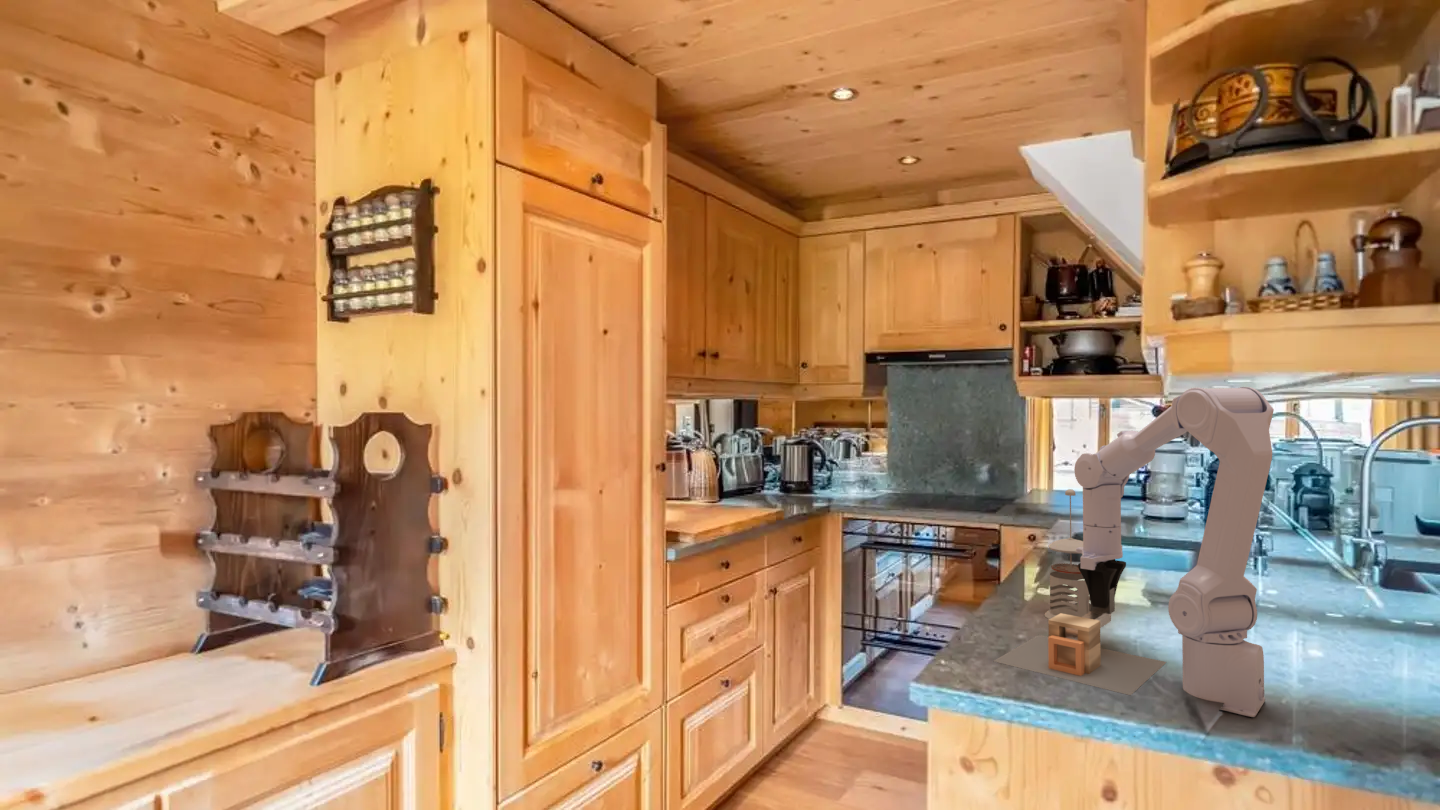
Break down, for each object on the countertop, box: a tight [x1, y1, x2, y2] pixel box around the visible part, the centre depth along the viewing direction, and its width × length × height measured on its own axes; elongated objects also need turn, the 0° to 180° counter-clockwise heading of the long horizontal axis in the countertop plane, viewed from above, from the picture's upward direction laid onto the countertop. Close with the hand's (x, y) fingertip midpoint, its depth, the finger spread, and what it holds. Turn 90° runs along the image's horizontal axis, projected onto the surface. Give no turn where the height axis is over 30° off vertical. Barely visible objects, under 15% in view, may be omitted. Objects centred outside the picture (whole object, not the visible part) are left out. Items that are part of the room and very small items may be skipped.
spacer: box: [1047, 635, 1085, 676], centre depth 114 cm, size 5×2×5 cm, turn 46°
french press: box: [1044, 488, 1091, 620], centre depth 144 cm, size 10×12×25 cm
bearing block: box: [1047, 613, 1101, 674], centre depth 117 cm, size 6×5×7 cm
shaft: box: [1065, 587, 1116, 640], centre depth 121 cm, size 3×15×6 cm, turn 135°
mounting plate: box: [992, 634, 1167, 696], centre depth 118 cm, size 20×18×1 cm
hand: (1102, 605), depth 126 cm, fingers closed on shaft, 2 cm apart
